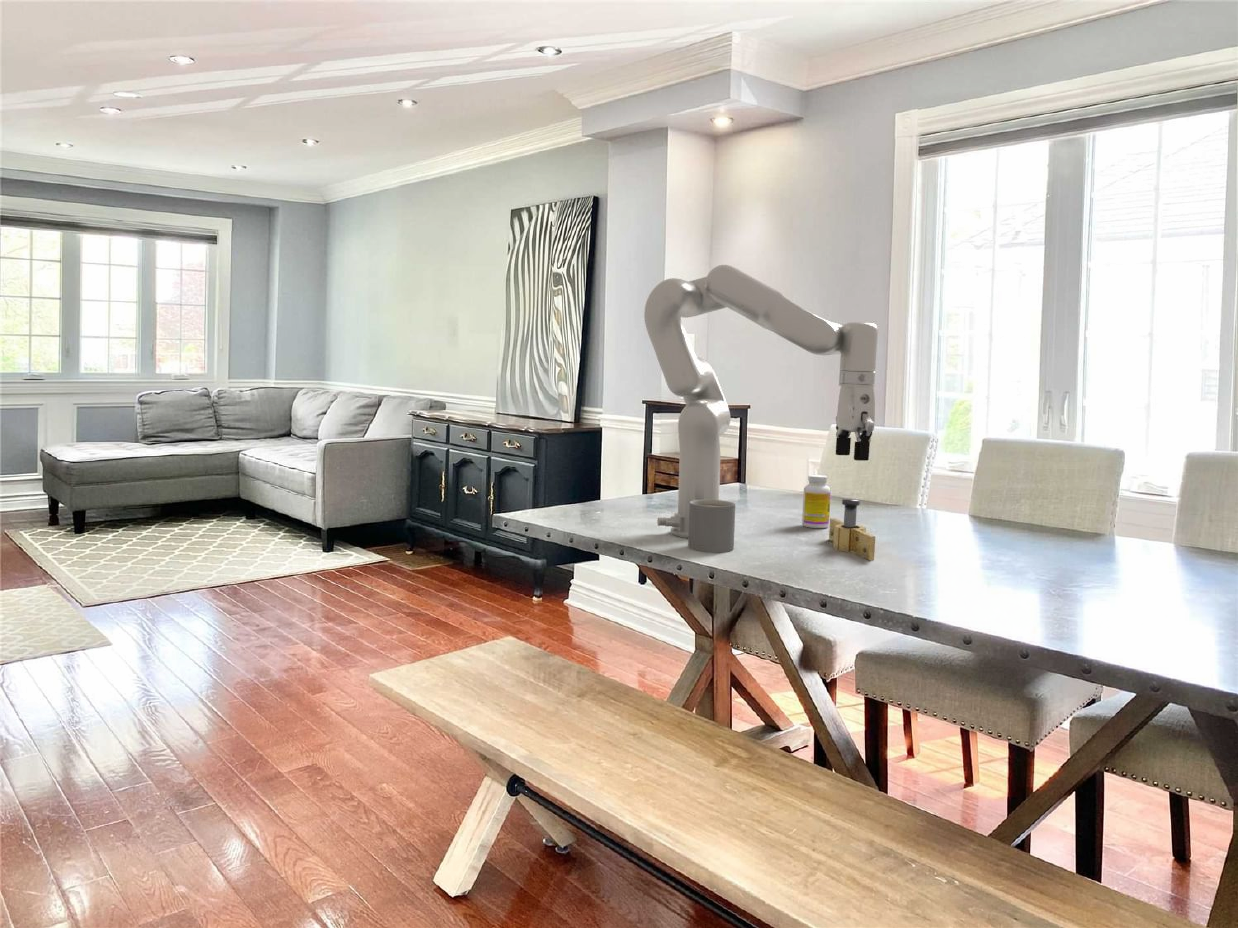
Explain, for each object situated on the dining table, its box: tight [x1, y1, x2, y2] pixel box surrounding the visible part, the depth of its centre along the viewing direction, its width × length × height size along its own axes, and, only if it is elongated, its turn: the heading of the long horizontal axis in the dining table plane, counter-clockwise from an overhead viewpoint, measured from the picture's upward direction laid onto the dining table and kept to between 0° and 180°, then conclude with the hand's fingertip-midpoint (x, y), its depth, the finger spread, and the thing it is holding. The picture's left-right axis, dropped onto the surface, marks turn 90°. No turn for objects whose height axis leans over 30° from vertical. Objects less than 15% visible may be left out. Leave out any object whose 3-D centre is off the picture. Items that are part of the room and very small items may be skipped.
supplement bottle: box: [801, 474, 832, 529], centre depth 233 cm, size 7×7×13 cm
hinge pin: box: [841, 498, 861, 528], centre depth 206 cm, size 4×4×11 cm
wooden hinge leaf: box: [828, 517, 844, 543], centre depth 214 cm, size 7×2×5 cm, turn 9°
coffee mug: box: [687, 499, 736, 554], centre depth 205 cm, size 13×10×10 cm
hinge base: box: [833, 524, 876, 561], centre depth 203 cm, size 6×14×5 cm, turn 10°
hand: (851, 457), depth 205 cm, fingers open, 9 cm apart
